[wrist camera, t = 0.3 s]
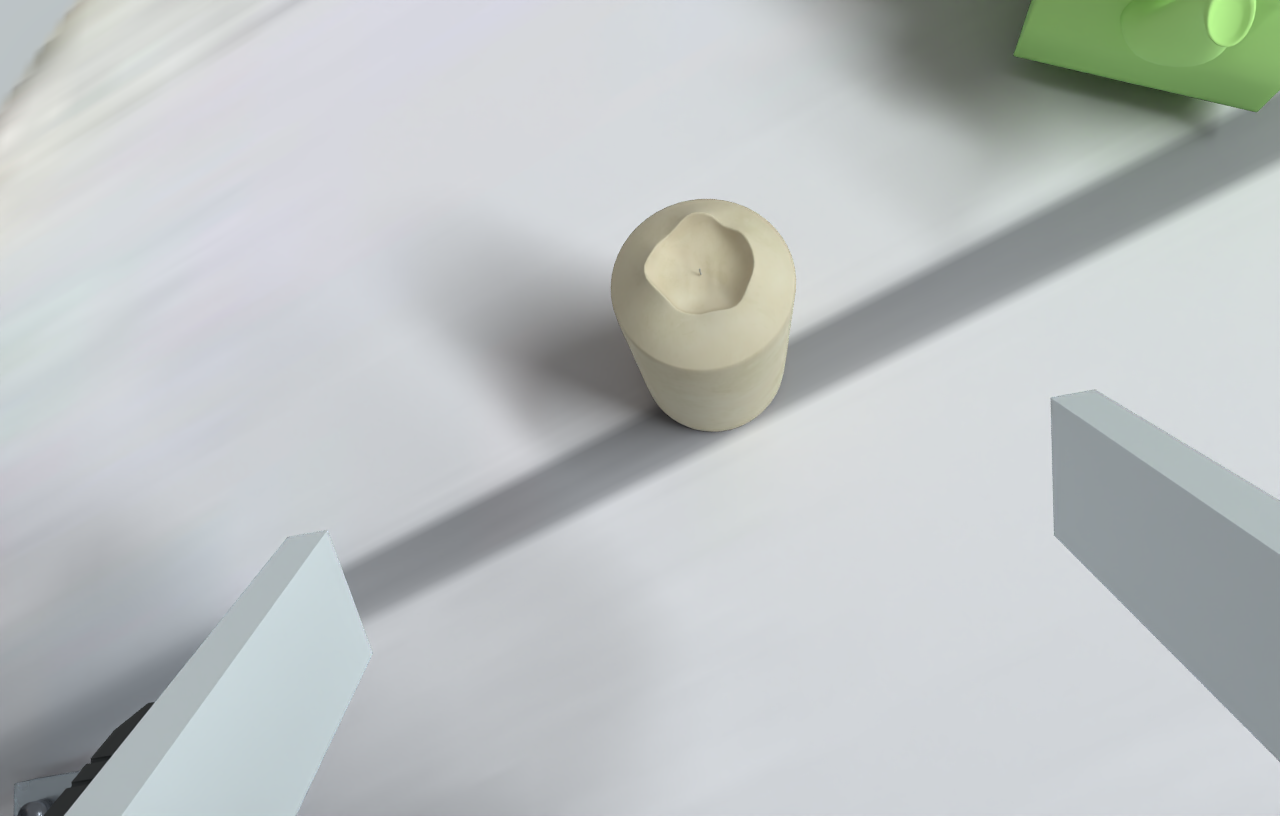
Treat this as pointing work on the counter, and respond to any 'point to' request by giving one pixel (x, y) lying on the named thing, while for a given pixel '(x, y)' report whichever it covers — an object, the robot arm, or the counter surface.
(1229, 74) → the kettle
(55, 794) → the bolted post base
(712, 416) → the candle
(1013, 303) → the counter surface
